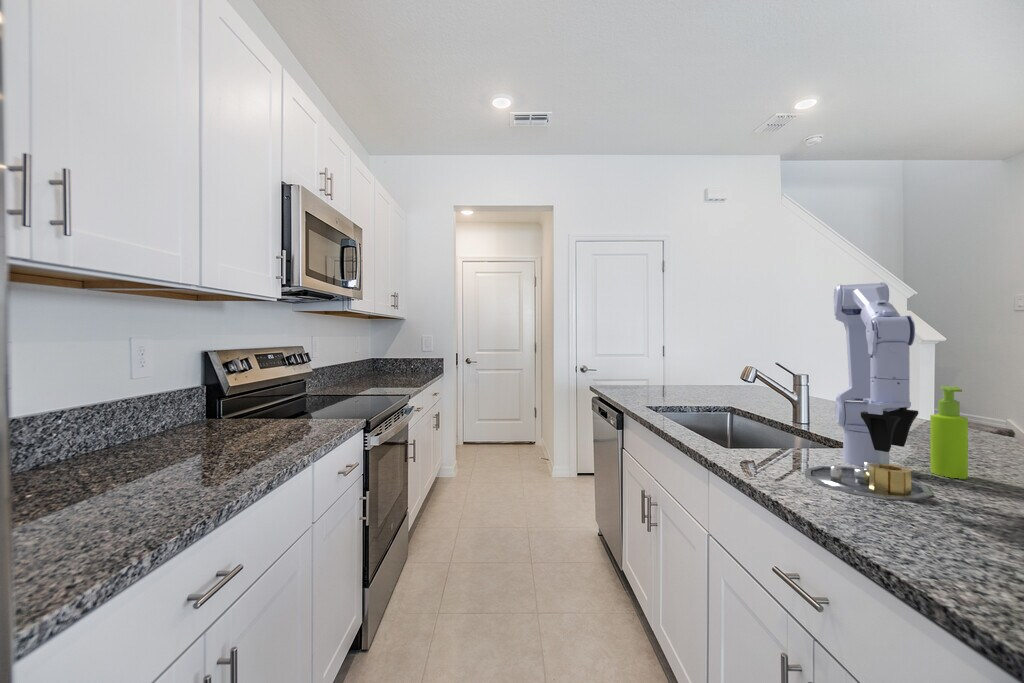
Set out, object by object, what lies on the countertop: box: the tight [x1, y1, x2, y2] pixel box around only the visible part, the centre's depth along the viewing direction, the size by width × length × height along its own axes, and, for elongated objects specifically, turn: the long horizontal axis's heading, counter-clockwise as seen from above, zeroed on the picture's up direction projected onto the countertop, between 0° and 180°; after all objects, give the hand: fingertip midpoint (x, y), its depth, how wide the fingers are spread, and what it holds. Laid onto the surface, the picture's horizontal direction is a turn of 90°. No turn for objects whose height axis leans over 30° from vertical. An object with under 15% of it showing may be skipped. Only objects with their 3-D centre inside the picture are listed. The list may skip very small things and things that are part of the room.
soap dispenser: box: [929, 385, 969, 480], centre depth 96 cm, size 6×7×20 cm
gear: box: [869, 463, 912, 496], centre depth 83 cm, size 6×6×4 cm
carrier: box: [804, 462, 933, 501], centre depth 89 cm, size 20×20×4 cm
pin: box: [830, 465, 842, 483], centre depth 89 cm, size 2×2×4 cm
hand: (889, 448), depth 83 cm, fingers open, 7 cm apart
